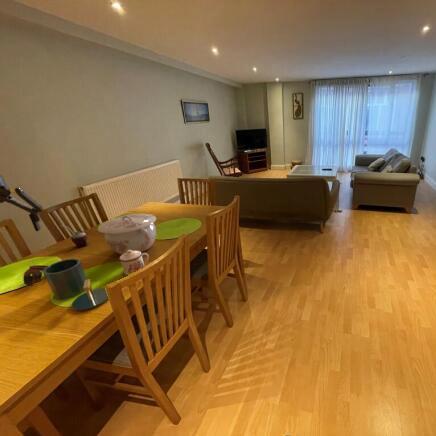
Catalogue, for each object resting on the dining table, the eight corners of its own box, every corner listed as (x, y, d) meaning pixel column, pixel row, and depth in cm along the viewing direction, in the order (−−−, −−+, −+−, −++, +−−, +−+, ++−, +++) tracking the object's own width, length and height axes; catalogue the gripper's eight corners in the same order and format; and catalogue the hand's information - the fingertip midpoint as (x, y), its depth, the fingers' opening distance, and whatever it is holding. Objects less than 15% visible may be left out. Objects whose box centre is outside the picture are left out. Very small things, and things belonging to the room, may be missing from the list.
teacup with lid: (129, 278, 112) (122, 257, 108) (120, 272, 117) (114, 251, 113) (155, 267, 121) (149, 246, 117) (146, 261, 126) (140, 242, 122)
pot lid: (70, 316, 91) (62, 298, 88) (75, 297, 101) (68, 280, 98) (111, 303, 97) (105, 286, 94) (112, 286, 107) (106, 270, 104)
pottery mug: (21, 282, 111) (26, 264, 112) (49, 282, 118) (54, 265, 119) (21, 287, 103) (26, 268, 104) (51, 286, 110) (56, 268, 111)
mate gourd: (92, 242, 146) (84, 220, 140) (80, 249, 139) (71, 225, 133) (81, 242, 147) (72, 219, 141) (69, 248, 139) (59, 225, 134)
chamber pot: (116, 241, 147) (106, 210, 139) (165, 235, 155) (158, 205, 147) (98, 266, 122) (84, 229, 114) (157, 257, 130) (148, 222, 122)
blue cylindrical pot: (52, 303, 98) (39, 277, 93) (57, 287, 106) (46, 263, 102) (88, 292, 103) (78, 268, 99) (90, 279, 112) (81, 255, 108)
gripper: (39, 170, 88) (60, 223, 95) (-71, 178, 75) (-36, 238, 83) (33, 173, 82) (56, 229, 90) (-86, 182, 69) (-48, 247, 77)
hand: (12, 234), depth 86 cm, fingers open, 13 cm apart
